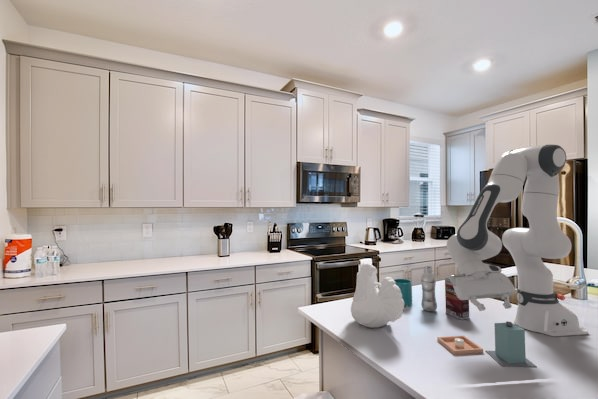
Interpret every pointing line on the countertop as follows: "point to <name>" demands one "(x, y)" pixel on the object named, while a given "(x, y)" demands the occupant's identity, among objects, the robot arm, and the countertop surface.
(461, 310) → the supplement box
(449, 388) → the countertop surface
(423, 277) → the metal bottle
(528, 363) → the mat
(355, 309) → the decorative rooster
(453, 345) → the dish
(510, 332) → the cover
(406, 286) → the cup
